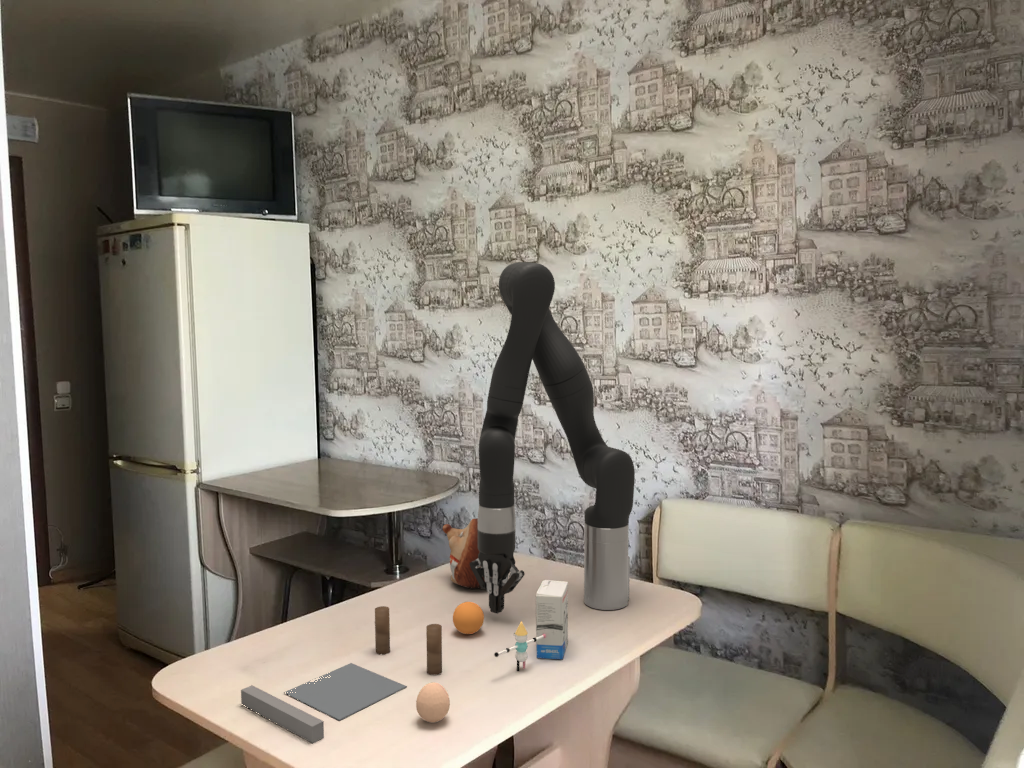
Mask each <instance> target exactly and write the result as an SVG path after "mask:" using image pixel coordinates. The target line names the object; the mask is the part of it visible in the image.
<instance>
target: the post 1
mask: <svg viewBox="0 0 1024 768" xmlns="http://www.w3.org/2000/svg"><path fill="white" fill-rule="evenodd" d="M390 625H391V624H390V607H389V606H385V605H384V606H383V605H382V606H377V607H376V608H374V633H375V634H374V635H375V636H374V637H375V646H374V647H375V654H377V655H380V654H382V655H387V654H390V652H391V637H390V635H391V633H390V632H391V631H390V630H391V628H390Z"/></svg>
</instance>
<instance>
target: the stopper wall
mask: <svg viewBox="0 0 1024 768" xmlns="http://www.w3.org/2000/svg"><path fill="white" fill-rule="evenodd" d="M240 699H241V700H240V701H241V703H240V704H243V705H245V706H246V707H248V708H250V709H252V710H253V711H252V710H251V711H252V712H254V711H255V712H257V713H259V714H260V716H261V715H262V716H261V717H263V716H264V717H263V718H265V717H266V718H265V719H267V720H268V719H270V720H271V721H270V720H269V721H270V722H272V723H274V722H275V723H274V724H276V723H277V724H276V725H278V726H280V727H281V728H283V727H284V728H283V729H285V728H286V729H285V730H287V729H288V730H287V731H289V732H291V733H293V734H295V735H297V736H299V737H301V738H302V739H304V740H306V741H308V742H309V743H311V744H314V743H316V742H318V741H320V740H321V739H325V727H324V722H325V721H323V720H322V719H320V718H318V717H316V716H314V715H312V714H310V713H308V712H306V711H304V710H302V709H301V708H298V707H296V706H294V705H292V704H291V703H288V702H287V701H284V700H282V699H281V698H278V697H277V696H274V695H273V694H271V693H268V692H267V691H265V690H263V689H260V688H259V687H256V686H255V685H252V684H251V685H249V686H247V687H245V688H242V689H241V690H240ZM246 707H245V708H246ZM248 708H247V709H248ZM250 709H249V710H250ZM255 712H254V713H255ZM257 713H256V714H257ZM259 714H258V715H259Z"/></svg>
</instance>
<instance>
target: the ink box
mask: <svg viewBox="0 0 1024 768" xmlns="http://www.w3.org/2000/svg"><path fill="white" fill-rule="evenodd" d="M568 589H569V582H568V581H563V580H553V579H551V580H550V579H544V580H542V581H541V584H540V586H539V587H538V589H537V591H536V592H535V593H536V595H535V624H536V625H535V632H536V634H535V635H536V637H535V638H537V637H539V636H542V635H543V634H545V635H546V638H542V639H539V640H536V642H535V643H536V645H535V646H536V658H537V659H551V660H563V659H564V656H565V652H566V648H567V646H568V643H569V638H568V637H569V631H568V630H569V629H568V628H569V623H568V621H569V617H568V615H569V613H568V610H569V608H568V607H569V606H568V605H569V603H568V602H569V601H568V599H569V598H568V597H569V595H568V594H569V590H568Z"/></svg>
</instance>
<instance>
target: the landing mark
mask: <svg viewBox="0 0 1024 768" xmlns="http://www.w3.org/2000/svg"><path fill="white" fill-rule="evenodd" d="M329 675H330V676H331V677H330V676H329ZM322 676H323V677H324V678H323V677H322ZM327 676H328V677H330V678H328V677H327ZM318 677H319V678H320V677H321V678H322V679H321V678H320V679H318V681H317V680H315V681H317V682H315V681H314V682H310V681H311V680H309V681H307V682H304V683H305V684H304V683H302V684H300V685H298V686H295V687H292V688H291V689H288V690H287V691H284V692H283V694H284V693H285V692H286V694H288V695H290V696H292V697H293V698H292V697H291V698H292V699H294V698H295V699H294V700H296V699H298V700H300V701H301V702H300V701H299V702H300V703H302V702H303V704H304V703H306V704H307V705H306V704H305V705H306V706H308V705H309V707H310V706H311V707H310V708H312V707H314V708H316V709H317V710H316V709H315V710H316V711H318V710H319V712H320V711H321V713H322V712H323V714H324V713H325V715H326V714H327V715H326V716H328V715H329V717H330V716H331V718H333V719H335V720H337V721H338V722H341V721H342V720H344V719H346V718H348V717H350V716H352V715H354V714H356V713H358V712H361V711H362V710H364V709H366V708H368V707H370V706H372V705H374V704H376V703H378V702H380V701H382V700H384V699H387V698H388V697H390V696H392V695H394V694H396V693H398V692H400V691H403V690H404V689H406V688H407V685H406V684H403V683H400V682H398V681H395V680H394V679H391V678H388V677H387V676H384V675H381V674H379V673H376V672H374V671H371V670H369V669H367V668H365V667H362V666H360V665H357V664H355V663H352V662H350V663H347V664H345V665H343V666H340V667H339V668H337V669H334V670H332V671H330V673H329V672H328V674H327V673H325V674H323V675H321V676H320V675H319V676H318ZM325 677H327V678H325ZM320 680H321V681H320ZM306 683H307V684H306ZM309 683H310V684H309ZM314 683H315V684H314ZM295 688H296V689H295ZM291 690H292V691H291ZM287 692H288V693H287ZM290 692H291V693H290ZM292 692H293V693H292ZM295 692H296V693H295ZM286 694H285V695H286ZM288 695H287V696H288ZM290 696H289V697H290ZM298 700H297V701H298ZM314 708H313V709H314Z"/></svg>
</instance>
